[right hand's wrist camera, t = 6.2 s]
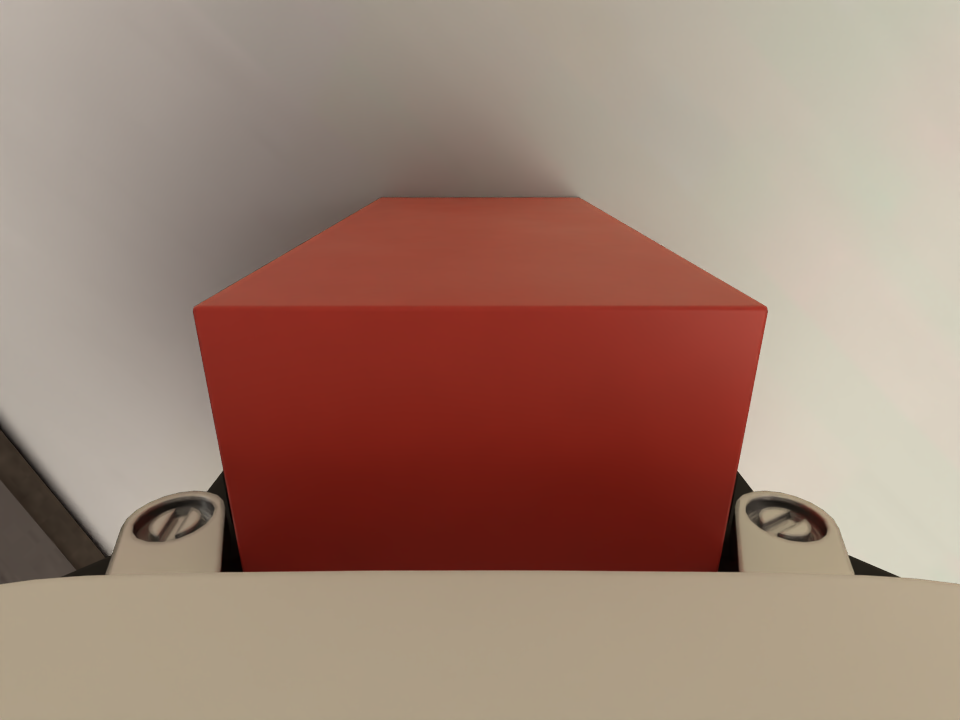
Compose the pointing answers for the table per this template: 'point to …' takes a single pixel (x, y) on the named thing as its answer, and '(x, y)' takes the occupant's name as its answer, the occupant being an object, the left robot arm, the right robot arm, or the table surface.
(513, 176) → the table surface
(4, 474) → the toy
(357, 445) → the block
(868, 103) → the table surface
